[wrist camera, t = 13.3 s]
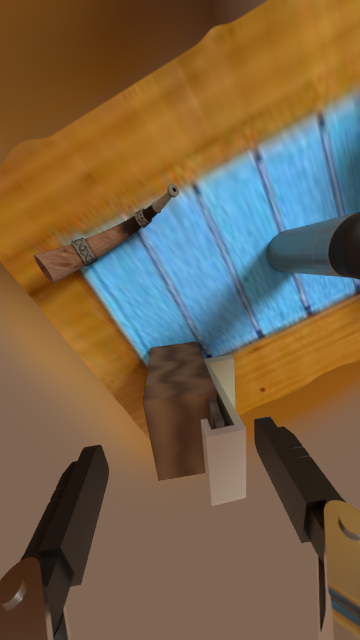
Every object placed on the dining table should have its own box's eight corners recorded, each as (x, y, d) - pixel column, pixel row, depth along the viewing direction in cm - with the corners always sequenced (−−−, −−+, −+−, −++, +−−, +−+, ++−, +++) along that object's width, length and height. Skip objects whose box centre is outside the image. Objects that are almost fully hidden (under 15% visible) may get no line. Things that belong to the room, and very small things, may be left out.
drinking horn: (47, 260, 41) (12, 260, 32) (168, 190, 39) (170, 167, 30) (63, 283, 43) (35, 289, 33) (180, 217, 41) (186, 203, 31)
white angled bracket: (230, 354, 45) (286, 420, 26) (231, 402, 50) (281, 488, 31) (183, 362, 44) (206, 437, 25) (188, 410, 48) (211, 506, 29)
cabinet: (196, 341, 50) (226, 415, 26) (201, 398, 55) (230, 502, 31) (150, 347, 49) (138, 428, 25) (160, 404, 55) (157, 514, 31)
